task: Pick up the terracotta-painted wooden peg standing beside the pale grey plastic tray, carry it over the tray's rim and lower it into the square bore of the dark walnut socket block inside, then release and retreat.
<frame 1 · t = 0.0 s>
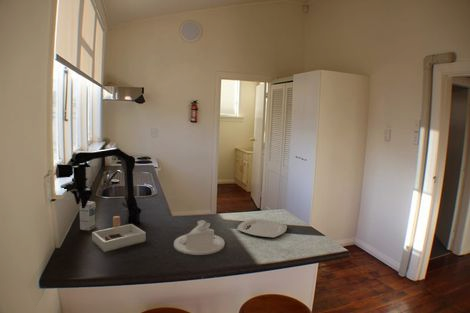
hand: (80, 206, 154), 15 cm above the counter, fingers open, 9 cm apart
peg: (116, 231, 160), on the counter
socket: (115, 242, 146), resting on tray
tray: (119, 241, 148), on the counter
plate: (262, 230, 171), on the counter
syrup box: (88, 228, 163), on the counter
dish: (199, 244, 148), on the counter
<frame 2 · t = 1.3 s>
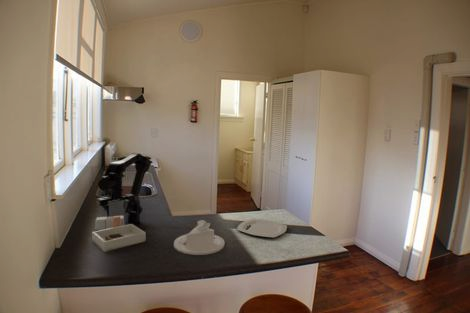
hand: (116, 215, 159), 9 cm above the counter, fingers open, 9 cm apart
syrup box: (95, 223, 162), point 3 cm above the counter
everything else where it was.
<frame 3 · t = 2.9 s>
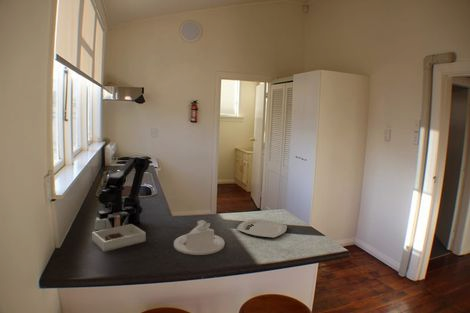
hand: (116, 228, 160), 2 cm above the counter, fingers closed on peg, 4 cm apart
peg: (116, 231, 160), on the counter, touching gripper
everything else where it was.
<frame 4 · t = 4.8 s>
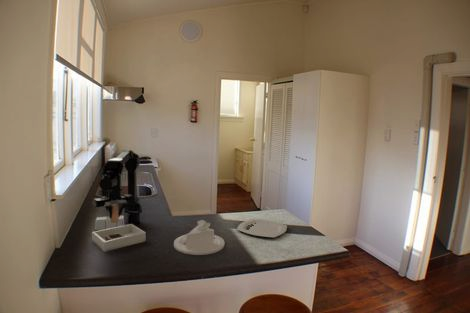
hand: (114, 217, 145), 12 cm above the counter, fingers closed on peg, 4 cm apart
peg: (114, 221, 145), point 10 cm above the counter, touching gripper
everything else where it was.
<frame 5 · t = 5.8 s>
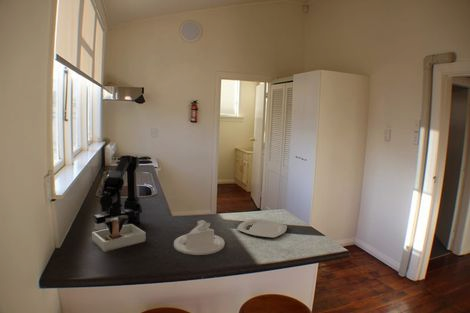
hand: (115, 233, 146), 5 cm above the counter, fingers closed on peg, 4 cm apart
peg: (115, 236, 146), point 3 cm above the counter, touching gripper
everything else where it was.
when the fingers open (4 cm above the counter, at t = 6.5 s): peg stays where it is, resting on tray.
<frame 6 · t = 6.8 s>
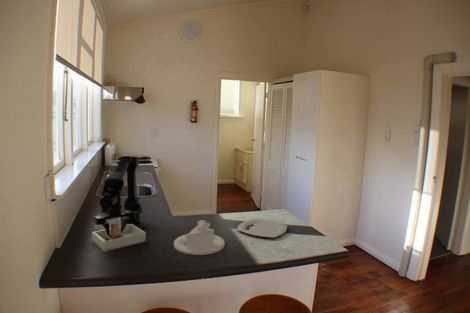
hand: (115, 234, 146), 4 cm above the counter, fingers open, 6 cm apart
peg: (115, 239, 146), point 1 cm above the counter, touching tray
everything else where it was.
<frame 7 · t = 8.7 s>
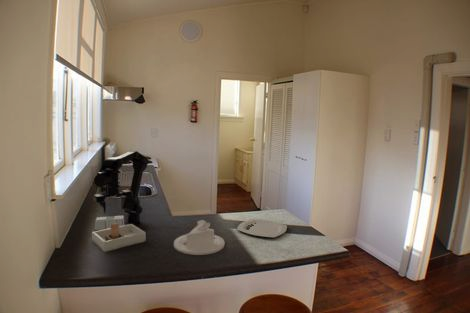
hand: (113, 211, 156), 12 cm above the counter, fingers open, 9 cm apart
nothing on the counter moved.
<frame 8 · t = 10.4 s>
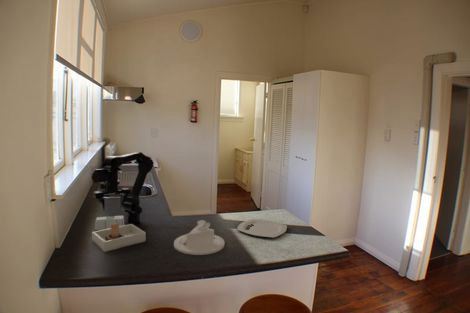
hand: (112, 208, 160), 12 cm above the counter, fingers open, 9 cm apart
nothing on the counter moved.
at the end: peg 0.0 cm off-centre on the socket, point 1.0 cm above the socket's base; peg tilted 0°; the gripper is holding nothing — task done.
